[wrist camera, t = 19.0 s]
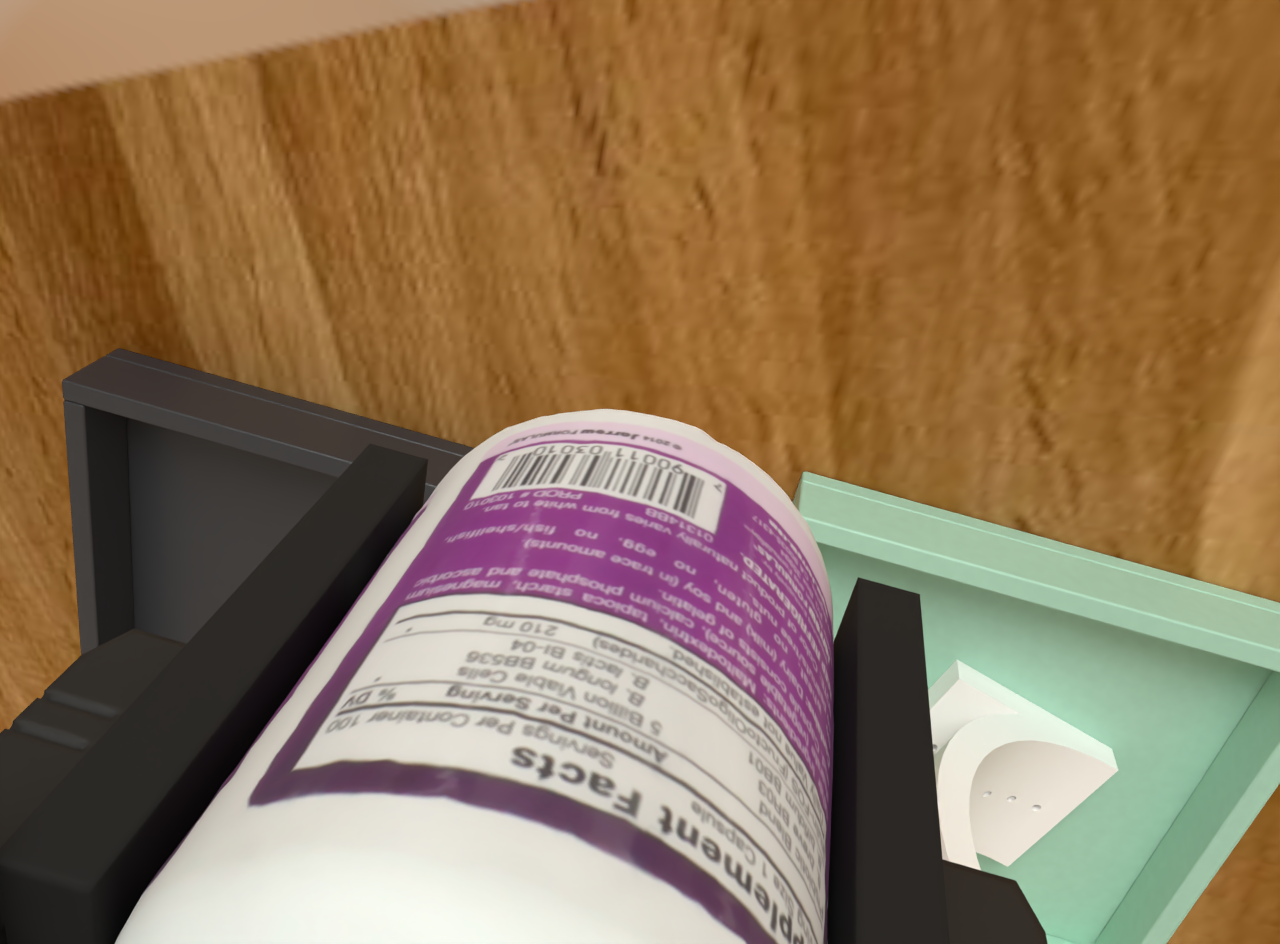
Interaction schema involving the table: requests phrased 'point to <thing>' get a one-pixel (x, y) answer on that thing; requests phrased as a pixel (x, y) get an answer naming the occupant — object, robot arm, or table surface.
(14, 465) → the table surface
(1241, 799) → the mint tray
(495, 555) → the pill bottle
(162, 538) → the charcoal tray
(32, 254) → the table surface
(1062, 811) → the headphone stand
